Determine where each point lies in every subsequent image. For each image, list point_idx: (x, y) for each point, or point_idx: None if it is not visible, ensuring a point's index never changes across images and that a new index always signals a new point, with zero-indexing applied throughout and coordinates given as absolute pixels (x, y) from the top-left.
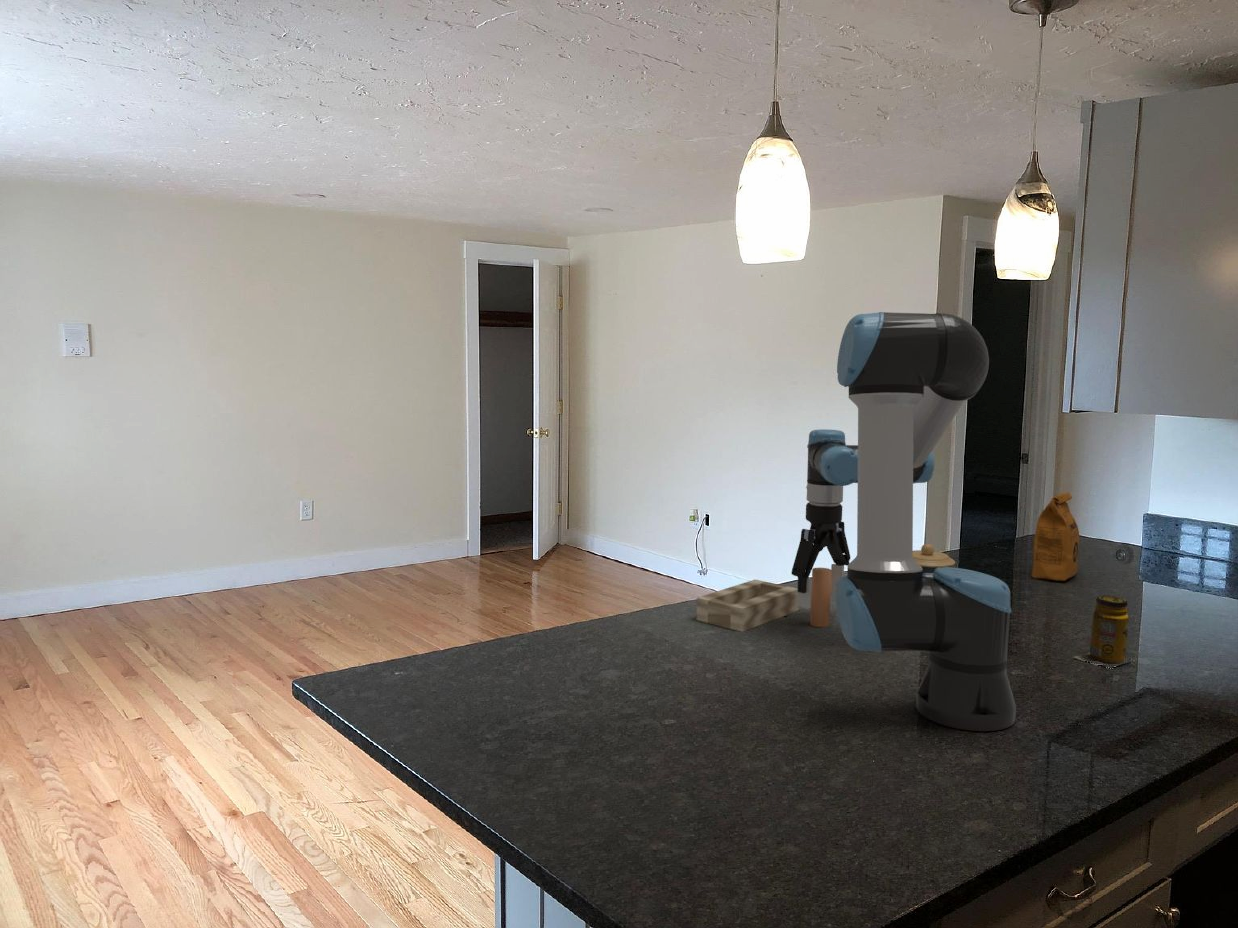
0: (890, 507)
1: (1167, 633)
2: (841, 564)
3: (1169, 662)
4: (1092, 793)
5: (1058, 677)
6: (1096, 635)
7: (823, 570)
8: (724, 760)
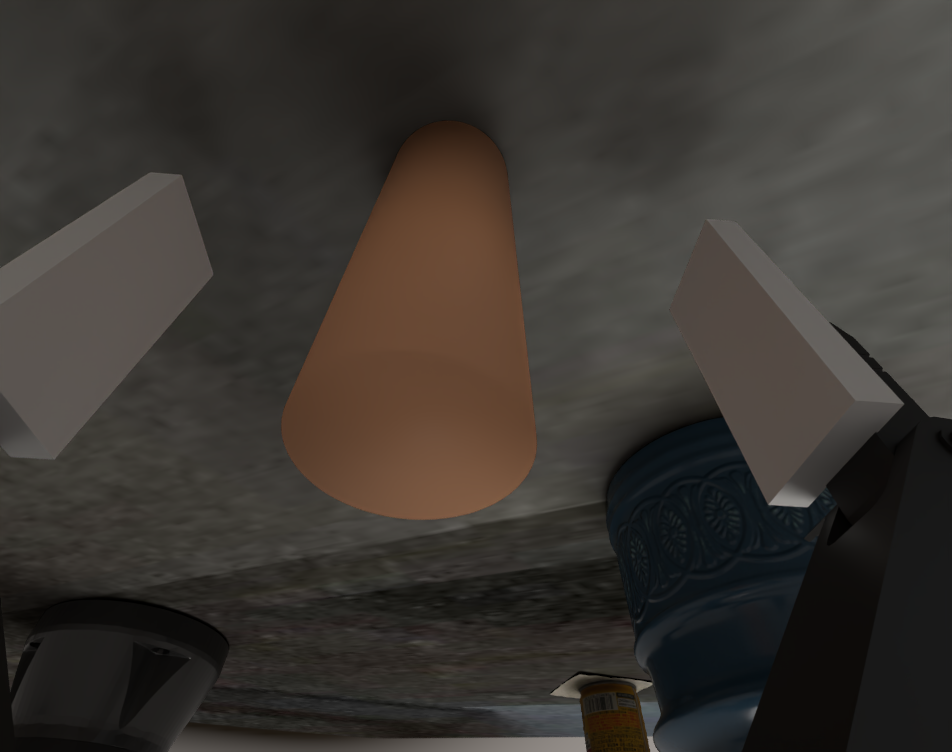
0: None
1: None
2: (835, 494)
3: None
4: None
5: (450, 670)
6: (594, 742)
7: (396, 468)
8: None
